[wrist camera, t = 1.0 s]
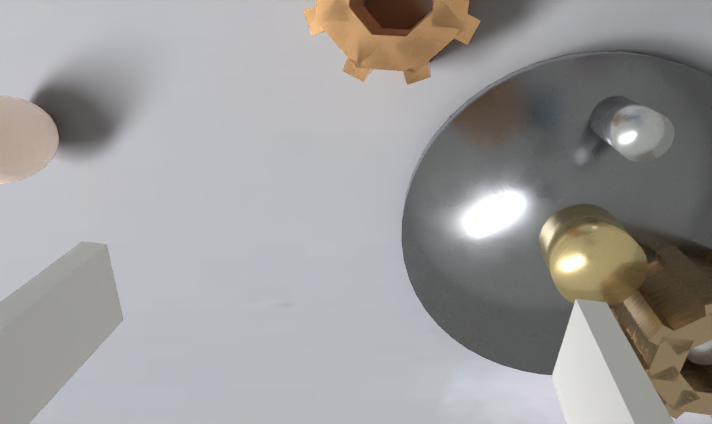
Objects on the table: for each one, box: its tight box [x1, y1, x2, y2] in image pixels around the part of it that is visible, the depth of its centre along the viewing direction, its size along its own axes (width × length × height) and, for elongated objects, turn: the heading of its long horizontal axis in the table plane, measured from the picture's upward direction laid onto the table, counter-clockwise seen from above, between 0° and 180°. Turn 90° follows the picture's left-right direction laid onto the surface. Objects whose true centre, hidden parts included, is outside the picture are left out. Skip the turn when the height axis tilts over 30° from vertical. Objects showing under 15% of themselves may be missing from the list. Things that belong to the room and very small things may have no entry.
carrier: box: [402, 51, 712, 419], centre depth 28 cm, size 23×23×8 cm
